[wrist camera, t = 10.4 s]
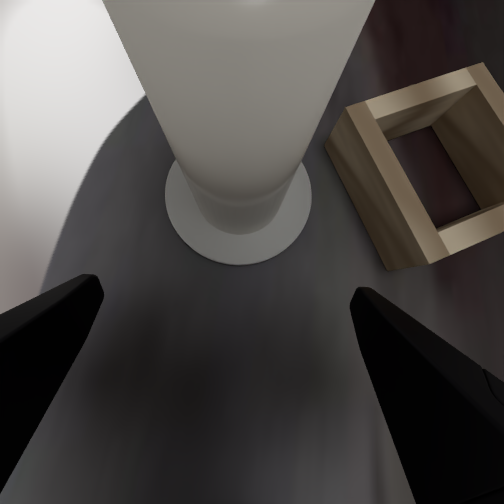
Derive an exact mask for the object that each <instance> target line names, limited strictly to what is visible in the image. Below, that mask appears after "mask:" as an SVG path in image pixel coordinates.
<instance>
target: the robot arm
mask: <svg viewBox="0 0 504 504" xmlns="http://www.w3.org/2000/svg"><path fill="white" fill-rule="evenodd" d="M103 299H104V291H103V289H102V286H101V284H100V281H99V279H98V277H97V276H96V275H93V274H82V275H79V276H77V277H75V278H73V279H71V280H69V281H67V282H65V283H63V284H61V285H59V286H57V287H55V288H53V289H51V290H49V291H47V292H45V293H43V294H41V295H39V296H37V297H35V298H33V299H31V300H29V301H27V302H25V303H23V304H21V305H19V306H16V307H15V308H12V309H10V310H9V311H6V312H4V313H2V314H0V493H1V492H2V490H3V488H4V486H5V484H6V483H7V481H8V479H9V477H10V475H11V474H12V472H13V470H14V468H15V466H16V465H17V463H18V461H19V459H20V457H21V456H22V454H23V452H24V450H25V448H26V447H27V445H28V443H29V441H30V439H31V438H32V436H33V434H34V432H35V431H36V429H37V427H38V425H39V423H40V422H41V420H42V418H43V416H44V414H45V413H46V411H47V409H48V407H49V405H50V404H51V402H52V400H53V398H54V396H55V395H56V393H57V391H58V389H59V387H60V386H61V384H62V382H63V380H64V378H65V377H66V375H67V373H68V371H69V370H70V368H71V366H72V364H73V362H74V361H75V359H76V357H77V355H78V353H79V352H80V350H81V348H82V346H83V344H84V342H85V340H86V338H87V336H88V334H89V332H90V329H91V327H92V325H93V322H94V320H95V318H96V315H97V313H98V311H99V308H100V306H101V304H102V301H103ZM350 312H351V316H352V320H353V324H354V328H355V332H356V336H357V340H358V344H359V347H360V351H361V354H362V357H363V359H364V362H365V365H366V368H367V370H368V373H369V376H370V379H371V381H372V384H373V387H374V390H375V392H376V395H377V398H378V401H379V403H380V406H381V409H382V412H383V414H384V417H385V420H386V423H387V425H388V428H389V431H390V434H391V436H392V439H393V442H394V445H395V447H396V450H397V453H398V456H399V458H400V461H401V464H402V467H403V469H404V472H405V475H406V478H407V480H408V483H409V486H410V489H411V491H412V494H413V497H414V500H415V502H416V504H504V382H502V381H501V380H499V379H498V378H497V377H495V376H494V375H493V374H491V373H490V372H488V371H487V370H486V369H482V367H481V366H480V365H478V364H477V363H476V362H474V361H473V360H471V359H470V358H469V357H467V356H466V355H464V354H463V353H462V352H460V351H459V350H457V349H456V348H455V347H453V346H452V345H450V344H449V343H448V342H446V341H445V340H443V339H442V338H440V337H439V336H438V335H436V334H435V333H433V332H432V331H431V330H429V329H428V328H426V327H425V326H424V325H422V324H421V323H419V322H418V321H417V320H415V319H414V318H412V317H411V316H410V315H408V314H407V313H405V312H404V311H403V310H401V309H400V308H398V307H397V306H396V305H394V304H393V303H391V302H390V301H389V300H387V299H386V298H384V297H383V296H382V295H380V294H379V293H377V292H376V291H375V290H373V289H372V288H370V287H358V288H357V289H356V291H355V293H354V295H353V297H352V300H351V302H350Z"/></svg>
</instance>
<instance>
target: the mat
mask: <svg viewBox="0 0 504 504" xmlns="http://www.w3.org/2000/svg"><path fill="white" fill-rule="evenodd" d="M311 196H312V193H311V185H310V181H309V177H308V174H307V172H306V169H305V167H304V165H303V164H302V162H301V163H300V165H299V167H298V169H297V171H296V174H295V176H294V178H293V180H292V182H291V184H290V187H289V189H288V191H287V193H286V195H285V197H284V200H283V202H282V204H281V206H280V208H279V211H278V212H277V214H276V216H275V217H274V219H273V220H272V221H271V222H270V223H269V224H268V225H267V226H265V227H264V228H262V229H261V230H259V231H256V232H254V233H250V234H244V235H236V234H229V233H226V232H223V231H220V230H219V229H217V228H215V227H214V226H212V225H211V224H210V223H209V222H208V221H207V220H206V219H205V218H204V216H203V215H202V213H201V211H200V209H199V207H198V205H197V203H196V201H195V199H194V196H193V194H192V192H191V190H190V188H189V186H188V184H187V181H186V179H185V177H184V175H183V173H182V171H181V168H180V166H179V164H178V162H177V160H175V161H174V163H173V165H172V167H171V169H170V171H169V174H168V177H167V181H166V187H165V202H166V209H167V212H168V216H169V218H170V221H171V223H172V225H173V227H174V228H175V230H176V232H177V233H178V234H179V236H180V237H181V238H182V239H183V240H184V242H186V243H187V244H188V245H189V246H190V247H191V248H192V249H193V250H194V251H196V252H197V253H199V254H200V255H202V256H204V257H206V258H208V259H210V260H212V261H215V262H218V263H222V264H227V265H237V266H241V265H251V264H257V263H260V262H263V261H266V260H269V259H271V258H273V257H275V256H276V255H278V254H279V253H281V252H282V251H284V250H285V249H286V248H287V247H288V246H289V245H291V244H292V242H293V241H294V240H295V239H296V238H297V237H298V236H299V234H300V232H301V231H302V229H303V228H304V226H305V224H306V221H307V219H308V216H309V213H310V208H311Z"/></svg>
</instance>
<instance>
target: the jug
mask: <svg viewBox="0 0 504 504" xmlns="http://www.w3.org/2000/svg"><path fill="white" fill-rule="evenodd" d="M374 1H375V0H103V3H104V4H105V7H106V9H107V11H108V13H109V16H110V18H111V20H112V22H113V24H114V26H115V28H116V31H117V33H118V35H119V37H120V39H121V41H122V44H123V46H124V48H125V50H126V52H127V54H128V57H129V59H130V61H131V63H132V65H133V67H134V69H135V72H136V74H137V76H138V78H139V80H140V82H141V84H142V87H143V89H144V91H145V93H146V95H147V97H148V100H149V102H150V104H151V106H152V108H153V110H154V112H155V115H156V117H157V119H158V121H159V123H160V125H161V128H162V130H163V132H164V134H165V136H166V138H167V140H168V143H169V145H170V147H171V149H172V151H173V153H174V156H175V158H176V160H177V162H178V164H179V166H180V168H181V171H182V173H183V175H184V177H185V179H186V181H187V184H188V186H189V188H190V190H191V192H192V194H193V196H194V199H195V201H196V203H197V205H198V207H199V209H200V211H201V213H202V215H203V216H204V218H205V219H206V220H207V221H208V222H209V223H210V224H211V225H212V226H214V227H215V228H217V229H219V230H220V231H223V232H226V233H229V234H236V235H244V234H250V233H254V232H256V231H259V230H261V229H262V228H264V227H265V226H267V225H268V224H269V223H270V222H271V221H272V220H273V219H274V217H275V216H276V214H277V212H278V211H279V208H280V206H281V204H282V202H283V200H284V197H285V195H286V193H287V191H288V189H289V187H290V184H291V182H292V180H293V178H294V176H295V174H296V171H297V169H298V167H299V165H300V163H301V160H302V158H303V156H304V154H305V152H306V150H307V147H308V145H309V143H310V141H311V139H312V137H313V134H314V132H315V130H316V128H317V126H318V123H319V121H320V119H321V117H322V115H323V113H324V110H325V108H326V106H327V104H328V102H329V99H330V97H331V95H332V93H333V91H334V89H335V86H336V84H337V82H338V80H339V78H340V76H341V73H342V71H343V69H344V67H345V65H346V62H347V60H348V58H349V56H350V54H351V52H352V49H353V47H354V45H355V43H356V41H357V39H358V36H359V34H360V32H361V30H362V28H363V25H364V23H365V21H366V19H367V17H368V15H369V12H370V10H371V8H372V6H373V4H374Z"/></svg>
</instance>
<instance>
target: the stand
mask: <svg viewBox="0 0 504 504" xmlns="http://www.w3.org/2000/svg"><path fill="white" fill-rule="evenodd" d="M430 125H431V126H432V128H433V130H434V131H435V133H436V135H437V136H438V138H439V140H440V141H441V143H442V145H443V146H444V148H445V150H446V151H447V153H448V155H449V156H450V158H451V160H452V161H453V163H454V165H455V166H456V168H457V170H458V171H459V173H460V175H461V177H462V178H463V180H464V182H465V183H466V185H467V187H468V188H469V190H470V192H471V193H472V195H473V197H474V198H475V200H476V202H477V203H478V205H479V207H480V208H481V210H479V211H477V212H475V213H472V214H470V215H467V216H465V217H463V218H460V219H458V220H456V221H453V222H451V223H449V224H446V225H444V226H441V227H439V228H437V229H436V228H435V226H434V225H433V223H432V221H431V219H430V217H429V216H428V214H427V212H426V210H425V208H424V207H423V205H422V203H421V201H420V199H419V198H418V196H417V194H416V192H415V190H414V189H413V187H412V185H411V183H410V181H409V180H408V178H407V176H406V174H405V172H404V171H403V169H402V167H401V165H400V163H399V162H398V160H397V158H396V156H395V154H394V153H393V151H392V149H391V147H390V145H389V144H388V142H387V141H388V140H391V139H394V138H397V137H399V136H402V135H405V134H408V133H411V132H413V131H416V130H419V129H422V128H425V127H427V126H430ZM324 146H325V148H326V150H327V152H328V154H329V156H330V158H331V160H332V162H333V164H334V166H335V168H336V170H337V172H338V174H339V176H340V178H341V180H342V182H343V184H344V186H345V188H346V190H347V192H348V194H349V196H350V198H351V200H352V202H353V204H354V206H355V208H356V210H357V212H358V214H359V216H360V218H361V220H362V222H363V224H364V226H365V228H366V230H367V232H368V234H369V236H370V238H371V240H372V242H373V244H374V246H375V248H376V250H377V252H378V254H379V256H380V258H381V260H382V262H383V264H384V266H385V268H386V270H387V271H391V270H397V269H403V268H409V267H415V266H421V265H427V264H431V263H433V262H435V261H438V260H440V259H442V258H444V257H447V256H449V255H451V254H454V253H456V252H458V251H460V250H463V249H465V248H467V247H469V246H472V245H474V244H476V243H478V242H481V241H483V240H485V239H487V238H490V237H492V236H494V235H496V234H499V233H501V232H503V231H504V93H503V92H502V90H501V89H500V88H499V86H498V85H497V83H496V82H495V80H494V79H493V77H492V76H491V74H490V73H489V71H488V70H487V68H486V67H485V65H484V64H483V62H482V63H479V64H476V65H473V66H470V67H467V68H464V69H461V70H458V71H455V72H452V73H448V74H445V75H442V76H439V77H436V78H433V79H430V80H427V81H424V82H421V83H418V84H415V85H412V86H409V87H406V88H403V89H400V90H397V91H394V92H391V93H388V94H385V95H382V96H379V97H375V98H372V99H369V100H366V101H363V102H360V103H357V104H354V105H351V106H348V107H345V109H344V111H343V113H342V114H341V116H340V118H339V120H338V121H337V123H336V125H335V127H334V129H333V130H332V132H331V134H330V136H329V137H328V139H327V141H326V143H325V145H324Z"/></svg>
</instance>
